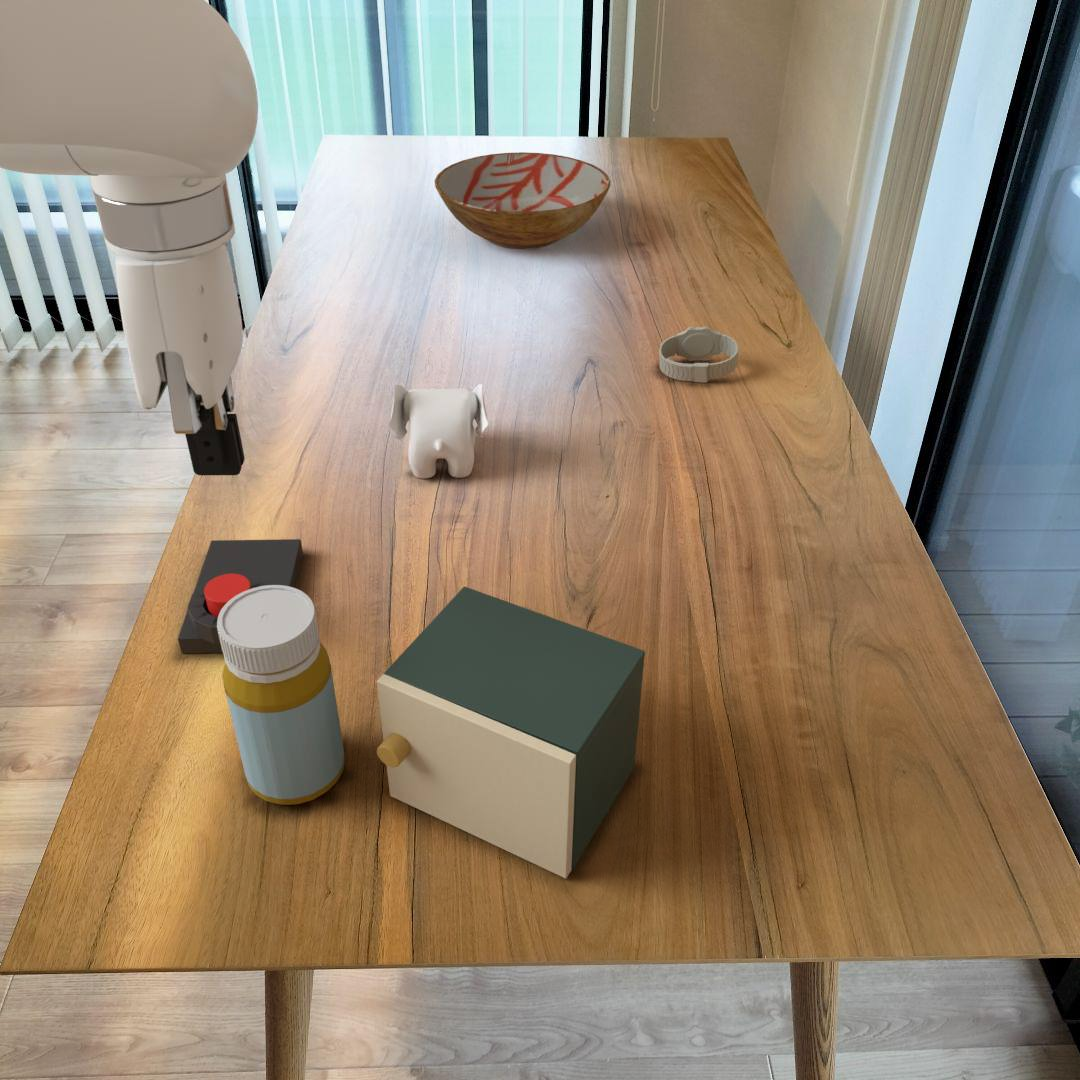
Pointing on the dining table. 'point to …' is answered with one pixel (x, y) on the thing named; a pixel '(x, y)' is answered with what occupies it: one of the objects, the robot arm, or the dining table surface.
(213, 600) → the button
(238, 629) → the bottle
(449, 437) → the elephant figurine
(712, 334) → the wristwatch
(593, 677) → the cupboard
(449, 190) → the bowl
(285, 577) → the switch
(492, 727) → the door
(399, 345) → the dining table surface
